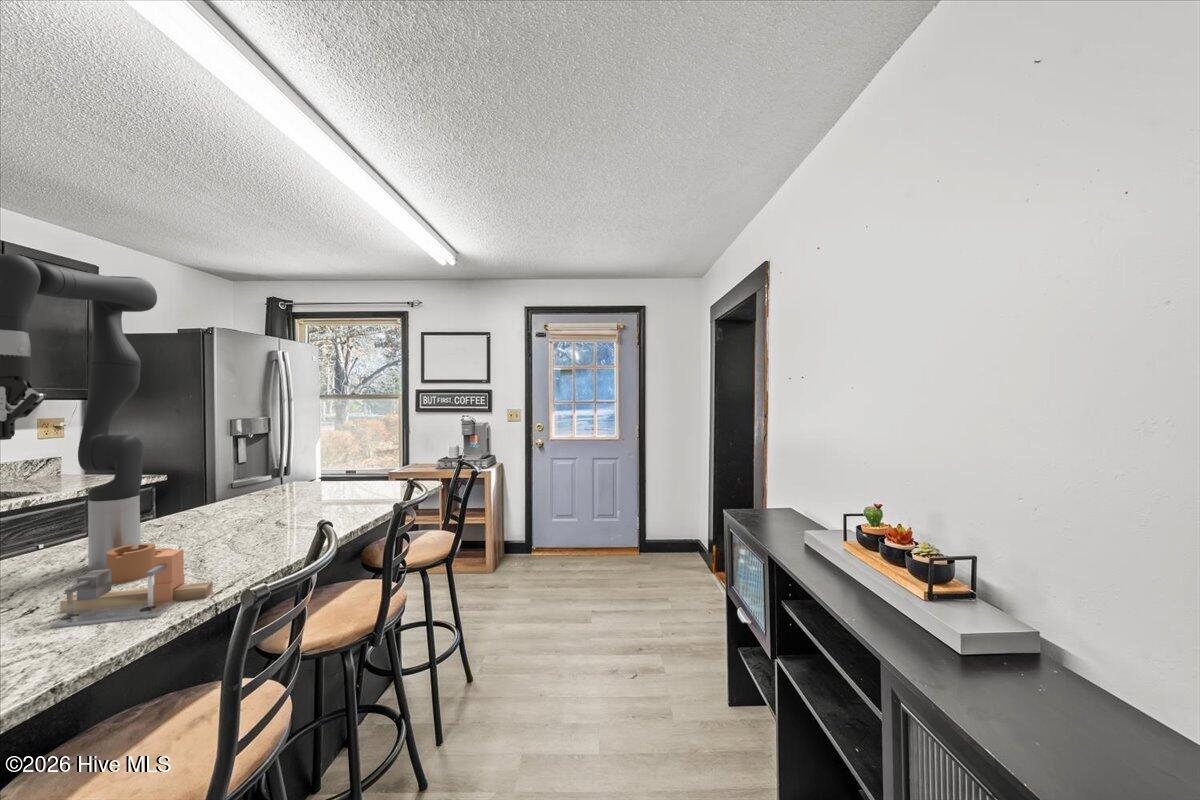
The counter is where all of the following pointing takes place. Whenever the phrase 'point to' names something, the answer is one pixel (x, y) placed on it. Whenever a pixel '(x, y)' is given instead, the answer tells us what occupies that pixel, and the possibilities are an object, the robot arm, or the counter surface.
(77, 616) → the strip
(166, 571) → the block
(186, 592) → the trammel bar
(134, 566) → the bracket
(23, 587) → the counter surface
